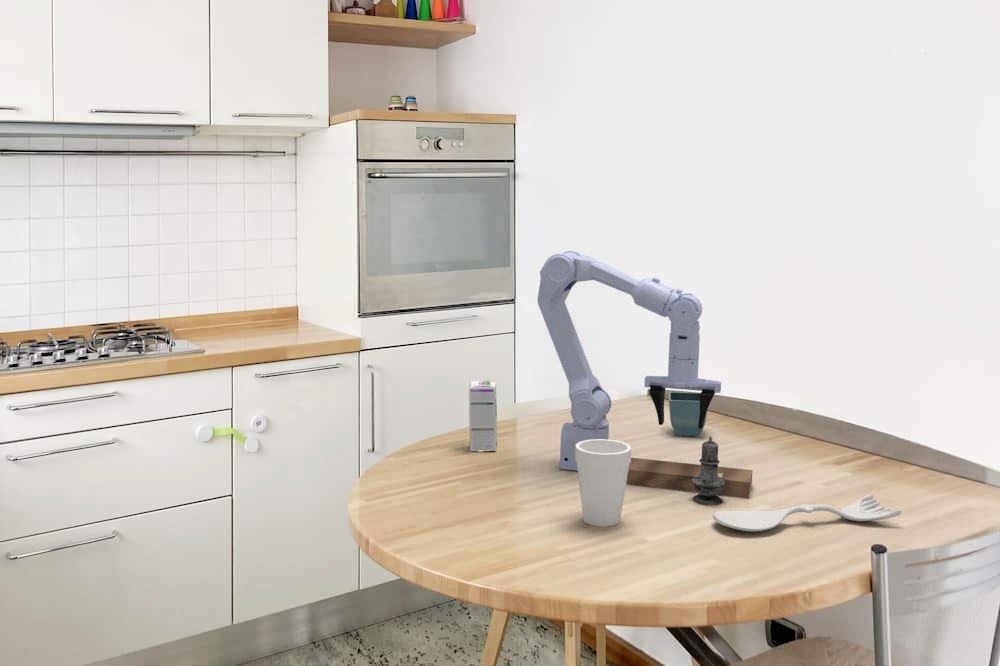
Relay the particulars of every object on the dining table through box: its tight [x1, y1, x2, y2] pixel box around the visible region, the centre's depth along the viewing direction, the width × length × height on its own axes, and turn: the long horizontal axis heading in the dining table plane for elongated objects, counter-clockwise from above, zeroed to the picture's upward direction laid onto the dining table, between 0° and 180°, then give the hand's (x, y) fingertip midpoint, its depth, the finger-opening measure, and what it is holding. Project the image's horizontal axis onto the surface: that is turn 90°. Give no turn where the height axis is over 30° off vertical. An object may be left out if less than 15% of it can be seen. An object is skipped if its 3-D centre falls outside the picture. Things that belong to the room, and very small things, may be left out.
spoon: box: [711, 494, 902, 533], centre depth 160 cm, size 9×32×4 cm, turn 102°
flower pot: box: [668, 391, 708, 438], centre depth 216 cm, size 9×9×9 cm
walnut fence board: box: [626, 457, 753, 499], centre depth 180 cm, size 24×8×3 cm, turn 71°
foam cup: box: [575, 439, 632, 528], centre depth 160 cm, size 10×9×13 cm
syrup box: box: [468, 380, 498, 452], centre depth 202 cm, size 6×6×14 cm
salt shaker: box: [692, 436, 725, 506], centre depth 171 cm, size 6×6×12 cm
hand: (680, 425), depth 183 cm, fingers open, 7 cm apart
